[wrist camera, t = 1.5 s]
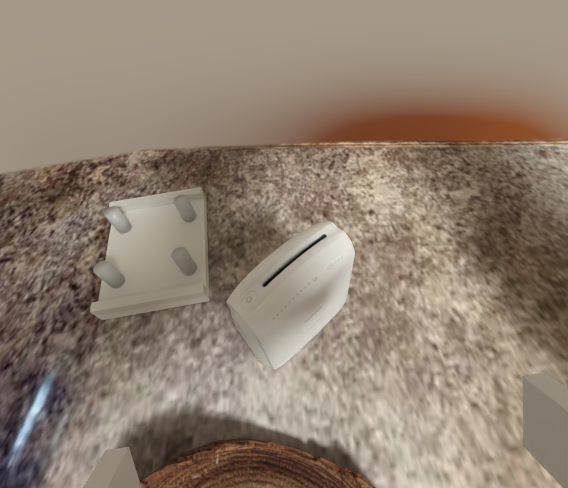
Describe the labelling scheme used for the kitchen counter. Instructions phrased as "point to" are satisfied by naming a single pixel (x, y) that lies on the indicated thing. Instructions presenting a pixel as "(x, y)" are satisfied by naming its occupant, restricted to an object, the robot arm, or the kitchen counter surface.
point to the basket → (251, 468)
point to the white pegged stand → (154, 254)
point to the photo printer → (293, 293)
